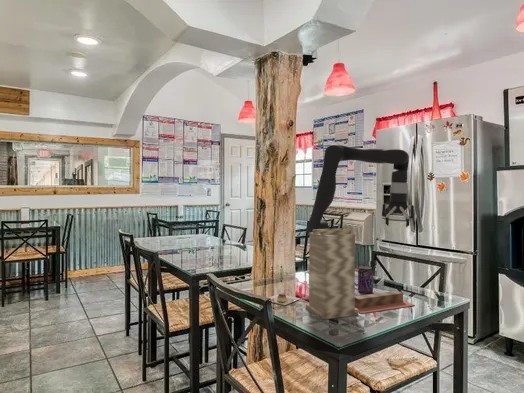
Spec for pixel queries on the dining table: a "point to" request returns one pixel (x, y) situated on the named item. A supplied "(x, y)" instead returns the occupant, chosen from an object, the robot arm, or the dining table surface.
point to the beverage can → (365, 279)
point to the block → (378, 299)
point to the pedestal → (332, 273)
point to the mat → (384, 307)
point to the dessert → (283, 298)
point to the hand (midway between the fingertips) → (397, 226)
